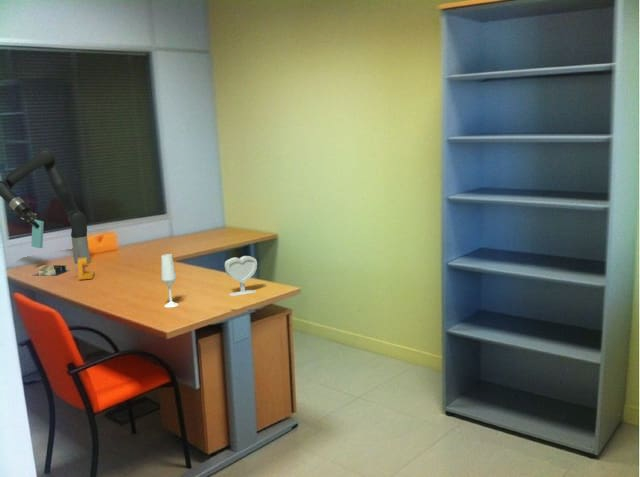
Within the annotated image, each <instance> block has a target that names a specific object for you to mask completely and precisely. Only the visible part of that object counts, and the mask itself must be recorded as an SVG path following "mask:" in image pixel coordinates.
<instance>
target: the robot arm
mask: <svg viewBox="0 0 640 477" xmlns="http://www.w3.org/2000/svg"><path fill="white" fill-rule="evenodd" d="M41 167H43V168H44V169H45V171H46V172H47V175H48V180H49V183H50V185H51V187H52V190H53V191H54V194H55V195H56V197H57V199H58V200H59V202H60V204H61V205H62V207H63V209H64V212H65V214H66V218H67V220H68V222H69V224H70V228H71V229H70V230H71V232H70V236H71V238H70V239H71V245H72V254H73V262H74V264H78V258H85V257H87V258H88V264H90V263H91V260H90V259H91V258H90V249H89V240H88V225H87V217H86V215H85V214H84V213H83V212H81V210H80V209H79V207H78V206H77V204H76V202H75V200H74V196H73V192H72V187H71V186H70V185H69V183H68V181H67V178H66V176H65V175H64V173H63V172H62V171H61V169H60V167H59V165H58V162H57V160H56V158H55V155H54V152H53V149H51V148H49V147H42V148H40V149H39V150H38V151H37V153H36V154H35V155H34V156H33V157H32V158H31V159H30V160H28V161H27V162H25V163H24V164H22V165H20V166H18V167H17V168H15V169H13V170H11V172H9V173H8V174H7V175H5V177H6V178H5V179H4V180H3V181H2V180H0V197H1V198H2V199H3V200H4V201H5V203H6V204H8V206H9V207H10V208H11V209H12V210H13V211H14V212H15V213H16V214H17V215H18V216H19V217H20V219H19V220H20V221H22V222H25V223H26V224H28V225H32V224H33V225H34V226H35V227H36V228H39V225H38V224H37V223H36V222H35V220H39V221H41V218H40V215H39V213H38V212H33V211H32V209H31V207H30V206H29V204H27V203H26V202H25V201H24V200H23V199H22V198H21V197H19V196H18V195H17V194H16V192H15V191H13V190H12V189H13V188H14V187H15V185H17V184H18V183H19V182H21V181H22V180H23V179H25V178H27V176H29V175H30V174H31V173H33V172H35V171H36V170H38V169H40V168H41Z"/></svg>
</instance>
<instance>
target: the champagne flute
mask: <svg viewBox="0 0 640 477" xmlns="http://www.w3.org/2000/svg"><path fill="white" fill-rule="evenodd" d="M160 257H161V258H160V260H161V265H160V266H161V278H160V280H161V281H162V283H164V284H165V285H166V286H168V299H169V302H167V303H166V304H165V305H163V307H164V308H174V307H175V308H176V307H178V306H179V304H180V303H177V302H174V301H173V296H172V285H173V284H174V283H175V281H176V279H177V274H176V269H175V264H174V259H173V254H172V253H166V254H162V255H161V256H160Z"/></svg>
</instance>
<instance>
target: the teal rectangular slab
mask: <svg viewBox="0 0 640 477" xmlns="http://www.w3.org/2000/svg"><path fill="white" fill-rule="evenodd" d="M35 222H36V223H37V224H38V225H39V228H36V227H35V226H34V225H33V224H31V226H32V227H31V247H33V248H37V249H43V247H44V246H43V242H44V224H45V223H44V221H43V220H35Z"/></svg>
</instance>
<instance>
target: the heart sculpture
mask: <svg viewBox="0 0 640 477" xmlns="http://www.w3.org/2000/svg"><path fill="white" fill-rule="evenodd" d="M257 266H258V261H257V259H256V258H255V257H253V256H250V255H243V256H241V257H237V256H236V257H231V258H229V259H227V260H226V261H225V262H224V269H225V273H226V274H227V275H228V276H229V277H230V278H231V279H233V280H235V281H238V282H239V286H240V287H239V288H240V290H239V291H236V292H232V293H229V296H230V297H231V296H232V297H235V296H237V297H238V296H242V295H247V294H248V295H249V294H253V293H257V291H256V290H255V289H247V290H246V288H245V285H246V282H247V281H248V280H249V279H251V278H252V277H253V276H254V274H255V273H256V271H257V269H258V268H257Z"/></svg>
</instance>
